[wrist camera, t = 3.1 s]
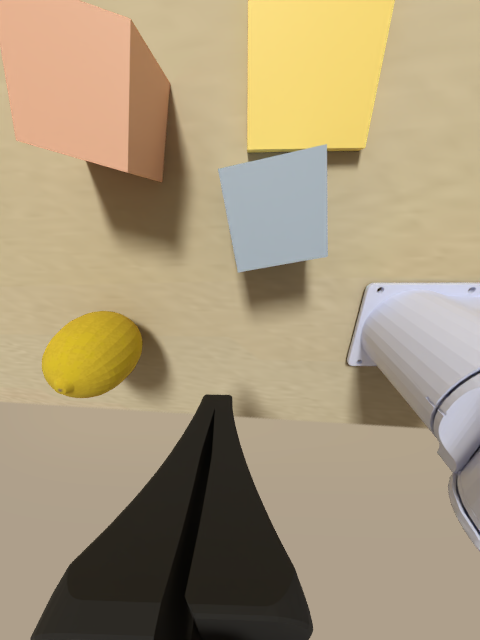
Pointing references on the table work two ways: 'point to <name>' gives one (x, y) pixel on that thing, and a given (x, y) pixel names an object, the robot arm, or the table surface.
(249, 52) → the tile
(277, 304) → the table surface
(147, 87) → the terracotta block
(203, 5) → the table surface
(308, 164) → the slate block
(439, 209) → the table surface
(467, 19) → the table surface
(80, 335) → the lemon
